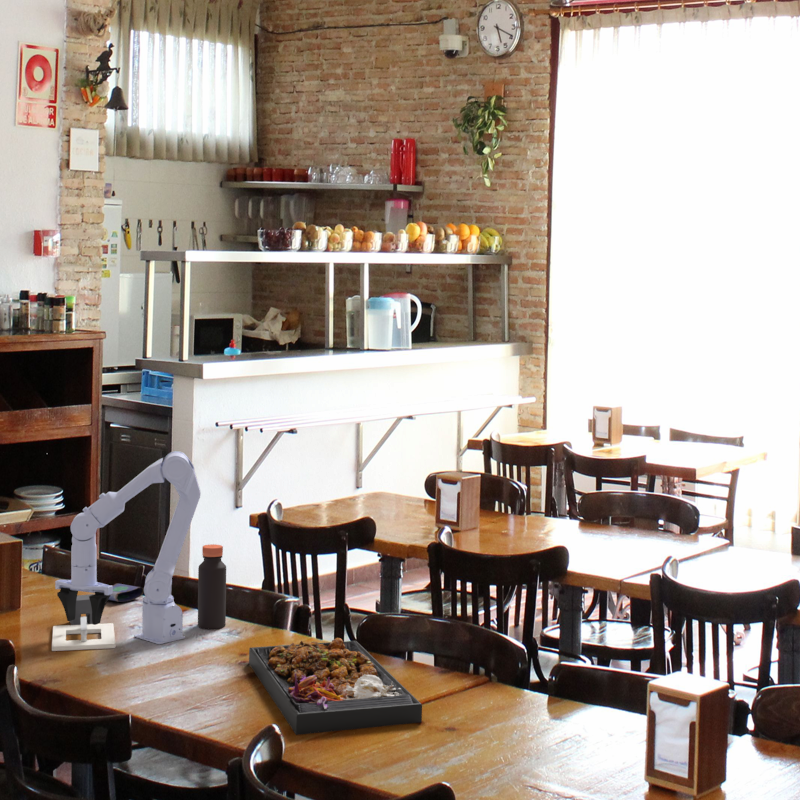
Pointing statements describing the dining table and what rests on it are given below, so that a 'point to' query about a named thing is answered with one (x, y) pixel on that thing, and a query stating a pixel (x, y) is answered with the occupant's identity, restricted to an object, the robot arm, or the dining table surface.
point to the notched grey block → (82, 609)
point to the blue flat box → (125, 592)
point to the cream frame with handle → (83, 636)
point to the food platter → (332, 687)
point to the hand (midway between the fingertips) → (83, 621)
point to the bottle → (212, 589)
